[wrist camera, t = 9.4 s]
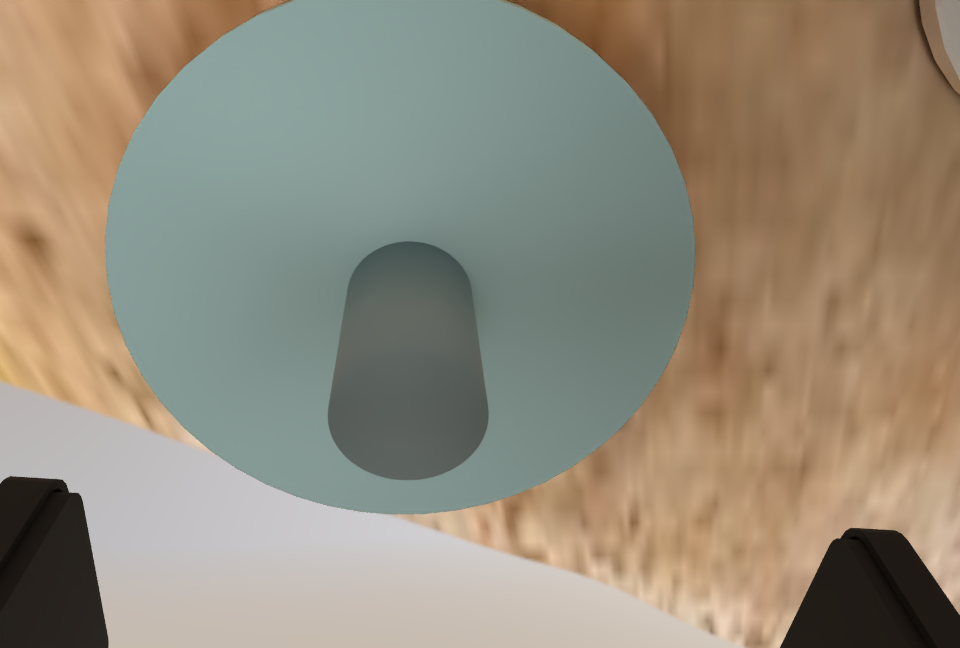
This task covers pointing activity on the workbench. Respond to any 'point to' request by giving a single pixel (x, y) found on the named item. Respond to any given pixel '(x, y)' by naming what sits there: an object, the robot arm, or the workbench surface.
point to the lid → (400, 251)
